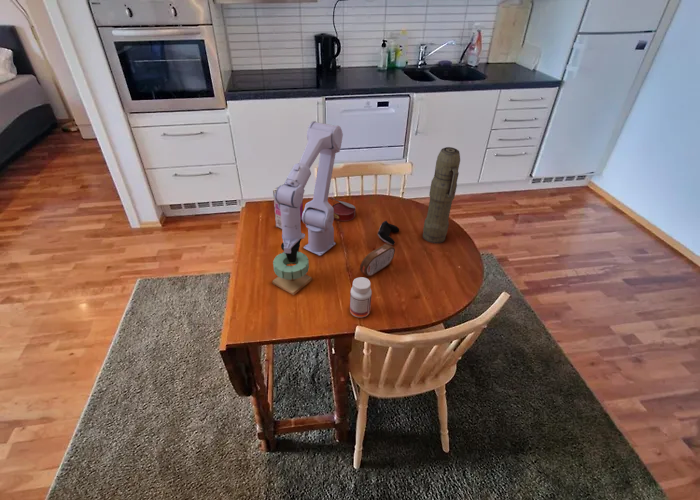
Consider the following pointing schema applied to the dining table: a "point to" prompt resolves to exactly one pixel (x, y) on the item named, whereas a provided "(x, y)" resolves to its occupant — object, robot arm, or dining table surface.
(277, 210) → the candy bar box
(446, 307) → the dining table surface
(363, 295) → the pill bottle
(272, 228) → the dining table surface
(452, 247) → the dining table surface
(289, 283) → the peg stand
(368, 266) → the tin
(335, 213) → the canned food
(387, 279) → the dining table surface
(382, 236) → the gaming controller
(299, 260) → the ring
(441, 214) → the thermos
